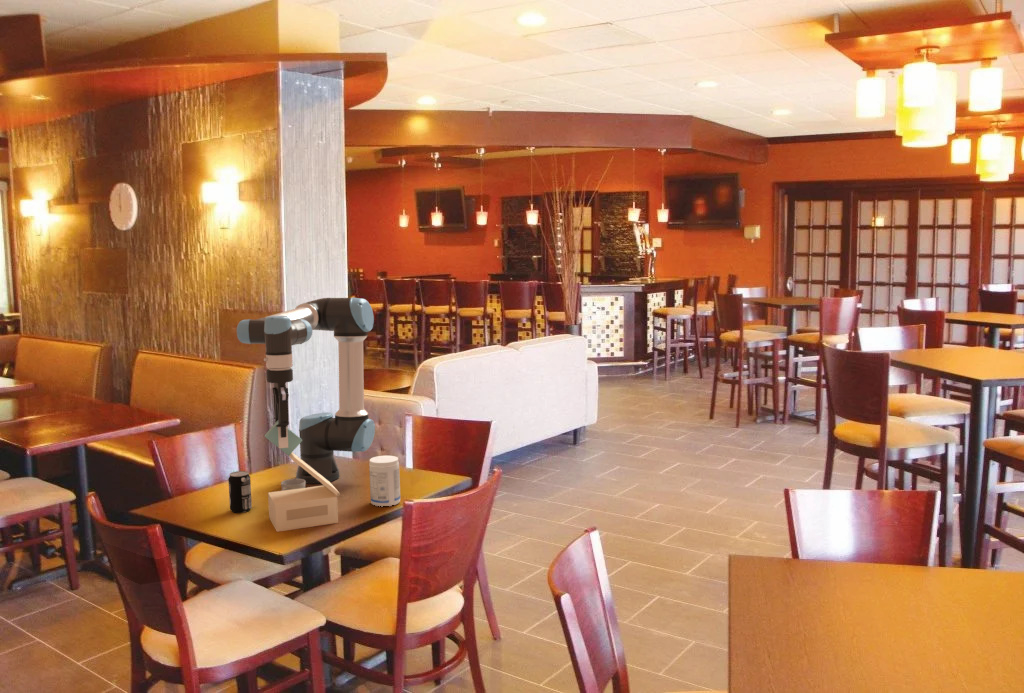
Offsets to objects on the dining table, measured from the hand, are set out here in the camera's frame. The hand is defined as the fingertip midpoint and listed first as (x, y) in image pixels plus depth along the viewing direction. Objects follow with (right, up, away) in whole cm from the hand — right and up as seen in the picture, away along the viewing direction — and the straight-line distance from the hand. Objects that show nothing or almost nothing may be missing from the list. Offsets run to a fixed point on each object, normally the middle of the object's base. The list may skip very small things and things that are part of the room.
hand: (282, 446), depth 251 cm
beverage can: (-17, -22, +15) cm, 32 cm away
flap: (+5, -6, +3) cm, 8 cm away
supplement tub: (+28, -21, +21) cm, 41 cm away
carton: (+5, -23, +5) cm, 24 cm away
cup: (-1, -22, +16) cm, 28 cm away
